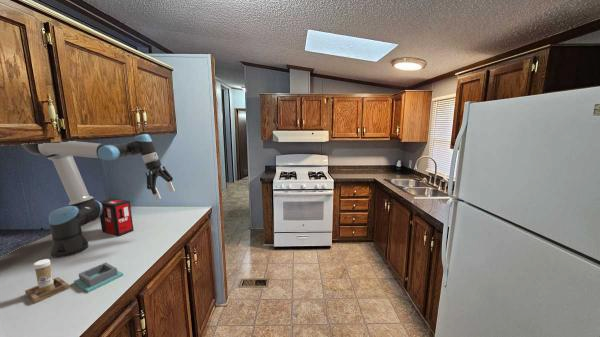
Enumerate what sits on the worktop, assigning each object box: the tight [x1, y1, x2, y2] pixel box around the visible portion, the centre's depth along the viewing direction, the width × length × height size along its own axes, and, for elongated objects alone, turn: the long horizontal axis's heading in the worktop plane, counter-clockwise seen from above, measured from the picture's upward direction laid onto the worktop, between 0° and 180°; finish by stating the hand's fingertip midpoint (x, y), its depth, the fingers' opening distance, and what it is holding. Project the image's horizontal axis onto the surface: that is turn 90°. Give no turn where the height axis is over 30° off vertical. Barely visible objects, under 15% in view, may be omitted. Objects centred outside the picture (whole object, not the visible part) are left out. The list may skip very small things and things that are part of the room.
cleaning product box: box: [99, 197, 135, 237], centre depth 154 cm, size 16×9×20 cm, turn 68°
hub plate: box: [73, 262, 124, 293], centre depth 107 cm, size 13×13×4 cm
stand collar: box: [24, 276, 70, 304], centre depth 99 cm, size 10×10×2 cm
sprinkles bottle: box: [33, 258, 56, 295], centre depth 98 cm, size 5×5×14 cm
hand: (165, 195), depth 143 cm, fingers open, 13 cm apart
